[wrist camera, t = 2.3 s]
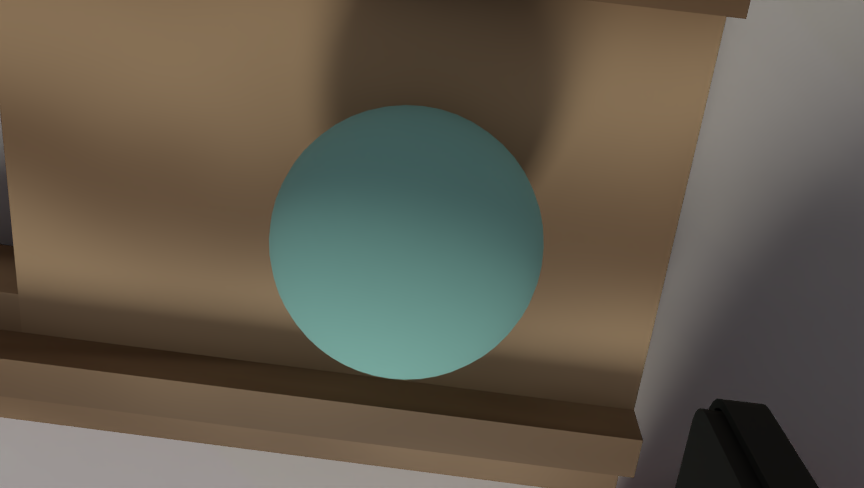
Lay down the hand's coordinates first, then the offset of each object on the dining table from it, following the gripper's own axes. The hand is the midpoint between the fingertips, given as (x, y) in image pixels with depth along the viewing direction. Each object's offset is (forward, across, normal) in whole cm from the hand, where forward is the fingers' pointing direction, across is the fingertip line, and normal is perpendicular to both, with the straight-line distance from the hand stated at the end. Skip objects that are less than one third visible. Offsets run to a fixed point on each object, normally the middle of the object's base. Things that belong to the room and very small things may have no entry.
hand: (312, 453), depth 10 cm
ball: (+6, -1, -1) cm, 6 cm away
